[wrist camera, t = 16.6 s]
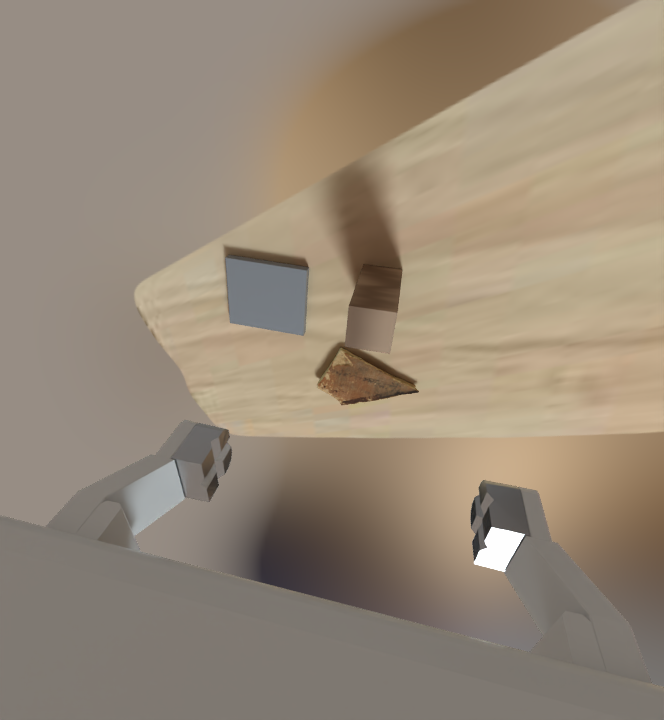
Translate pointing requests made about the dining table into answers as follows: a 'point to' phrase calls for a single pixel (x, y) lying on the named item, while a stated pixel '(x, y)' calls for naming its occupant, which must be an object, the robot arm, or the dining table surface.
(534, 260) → the dining table surface
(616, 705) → the robot arm
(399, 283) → the walnut block
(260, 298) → the slate board
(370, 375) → the shard
